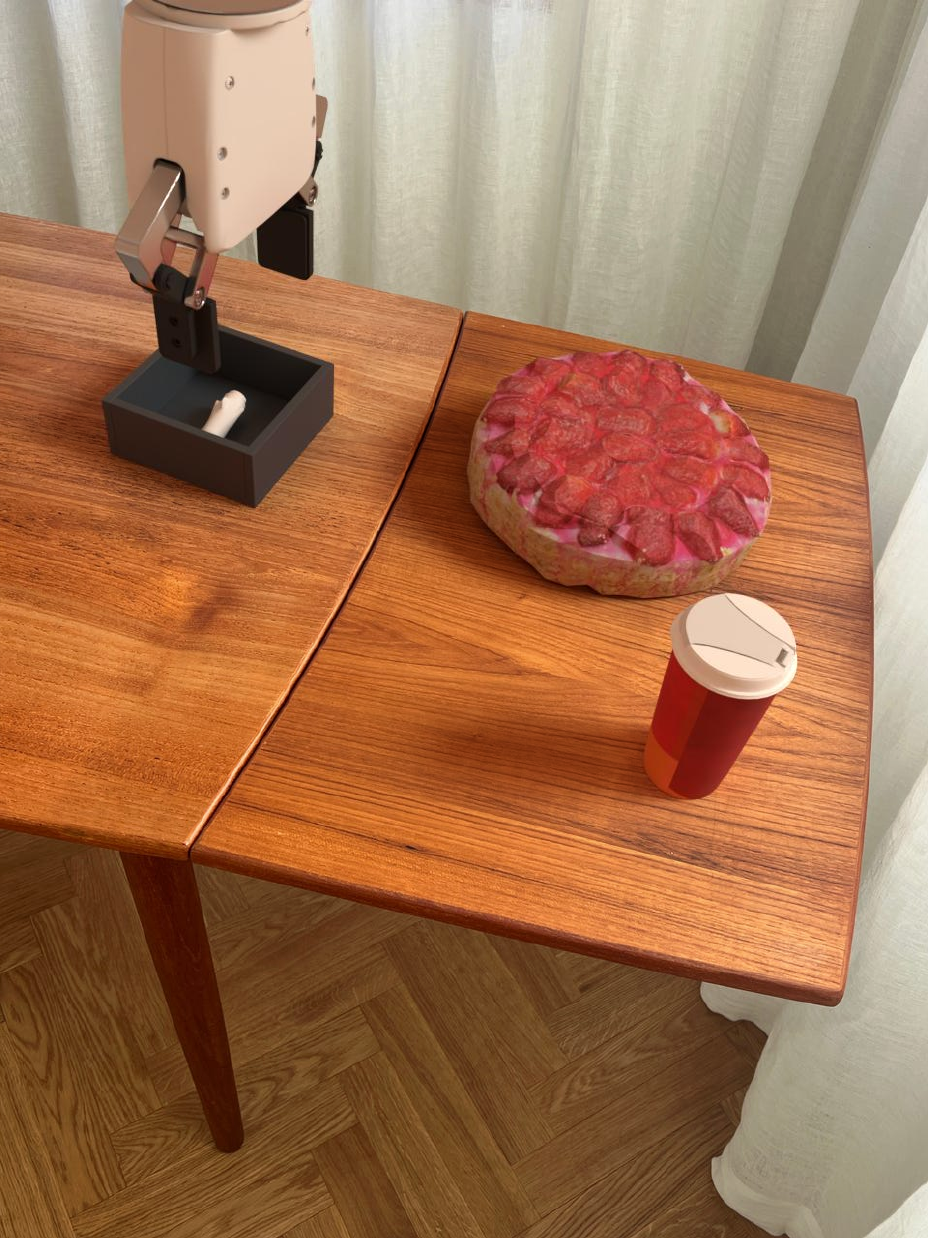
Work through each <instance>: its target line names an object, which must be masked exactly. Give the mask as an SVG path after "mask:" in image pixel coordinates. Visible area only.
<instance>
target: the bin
mask: <svg viewBox="0 0 928 1238" xmlns="http://www.w3.org/2000/svg"><path fill="white" fill-rule="evenodd" d="M218 333H219V346H220V359H221V366H220V368H219V369H218V370H217V371H216V372H215V373H214V374H208V373H205V372H203V371H200V370H197V369H194V368H191V367H188V366H186V365H183V364H180V363H177V362H174V361H171V360H169V359H166V358H164V357H163V356H162V355H161V354H160V352H159V347H158V348H156V350H154V351H153V352H152V353H151V354H149V356H148V357H147V358H145V359H144V360H143V361H142V362H141V363H140V364H138V366H137V367H136V368H135V369H133V370H132V371H131V372H130V373H129V374H128V375H127V376H125V378H124V379H122V381H120V382H119V383H118V384H117V385H116V386H114V387H113V388H112V389H111V390H110V391H109V392H108V393H106V395H105V396H103V397H102V398H101V400H100V402H101V406H102V414H103V418H104V424H105V429H106V435H107V441H108V446H109V452H110V454H112V455H115V456H118V457H119V458H123V459H125V460H127V461H131V462H133V463H136V464H139V465H140V466H144V467H146V468H148V469H152V470H154V471H156V472H159V473H162V474H165V475H168V476H170V477H172V478H175V479H178V480H180V481H183V482H186V483H188V484H190V485H194V486H196V487H199V488H201V489H204V490H207V491H209V492H211V493H214V494H218V495H220V496H222V497H225V498H228V499H231V500H234V501H237V502H238V503H241V504H243V505H246V506H249V507H251V508H255V509H256V508H257V506H258V505H259V504H260V503H261V502H262V501H263V500H264V498H265V497H266V496H267V495H268V494H269V493H270V491H271V490H272V489H273V488H274V487H275V486H276V484H277V483H278V481H280V480H281V478H282V477H283V476H284V474H286V472H287V471H288V470H289V469H290V468H291V466H292V465H293V464H294V463H295V462H296V460H297V459H298V458H299V457H300V456H301V455H302V454H303V452H304V451H305V450H306V449H307V447H308V446H309V445H310V444H311V443H312V442H313V440H315V438H316V437H317V435H318V434H319V433H320V432H321V431H322V430H323V428H325V426H327V424H328V423H329V422H330V420H331V419H332V418H333V417H334V415H335V414H334V413H335V410H334V409H335V408H334V407H335V363H334V362H330V361H327V360H324V359H322V358H318V357H316V356H313V355H310V354H307V353H304V352H301V351H299V350H296V349H292V348H290V347H286V346H283V345H281V344H278V343H275V342H272V341H271V340H267V339H263V338H261V337H258V336H256V335H253V334H249V333H247V332H244V331H240V330H237V329H235V328H232V327H229V326H227V325H224V324H220V323H218ZM232 390H234V391H238V392H240V393H241V394H242V395H243V396H244V397H245V399H246V403H245V408H244V411H243V412H242V413H241V414H240V416H239V417H238V418H237V420H236V421H235V423H234V424H233V426H232V427H231V428H230V430H229V431H228V433H227V434H226V436H225V437H224V438H223V437H220V436H217V435H215V434H212V433H209V432H207V431H204V430H202V428H203V427H204V426H205V424H206V422H207V421H208V419H209V417H210V415H211V412H212V410H213V407H214V405H215V402H216V400H218V401H221V400H222V399H223V398H224V396H225V394H227V393H229V392H230V391H232Z"/></svg>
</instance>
